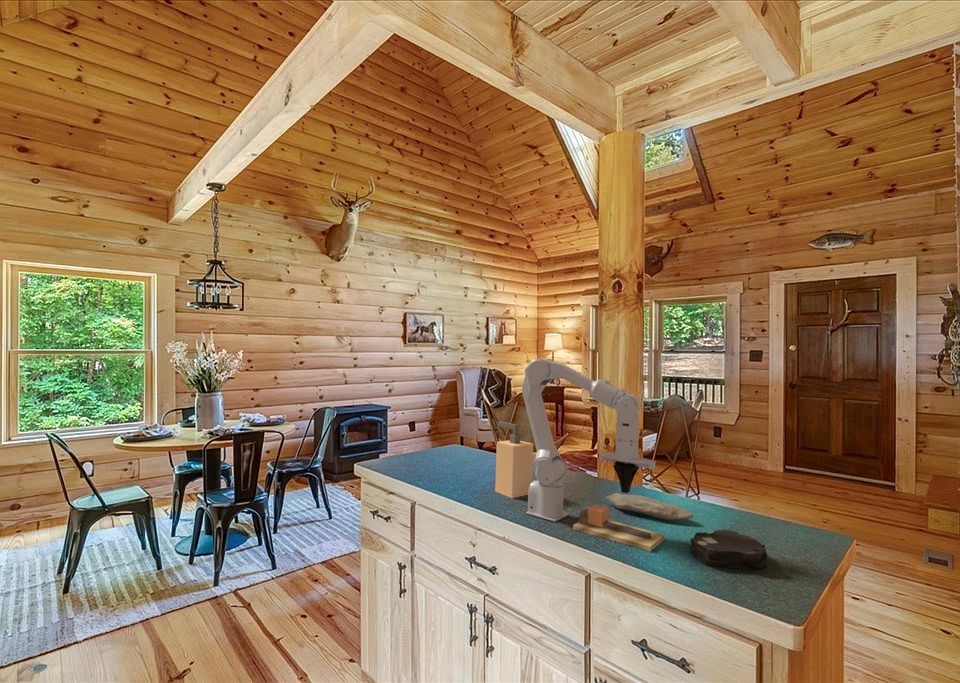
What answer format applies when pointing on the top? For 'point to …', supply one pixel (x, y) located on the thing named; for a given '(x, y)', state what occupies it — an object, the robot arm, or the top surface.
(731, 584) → the top surface
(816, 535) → the top surface
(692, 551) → the rock sample
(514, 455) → the soap dispenser
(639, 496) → the stone tool
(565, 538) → the top surface
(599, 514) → the slider block
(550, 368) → the robot arm
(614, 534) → the rail board
